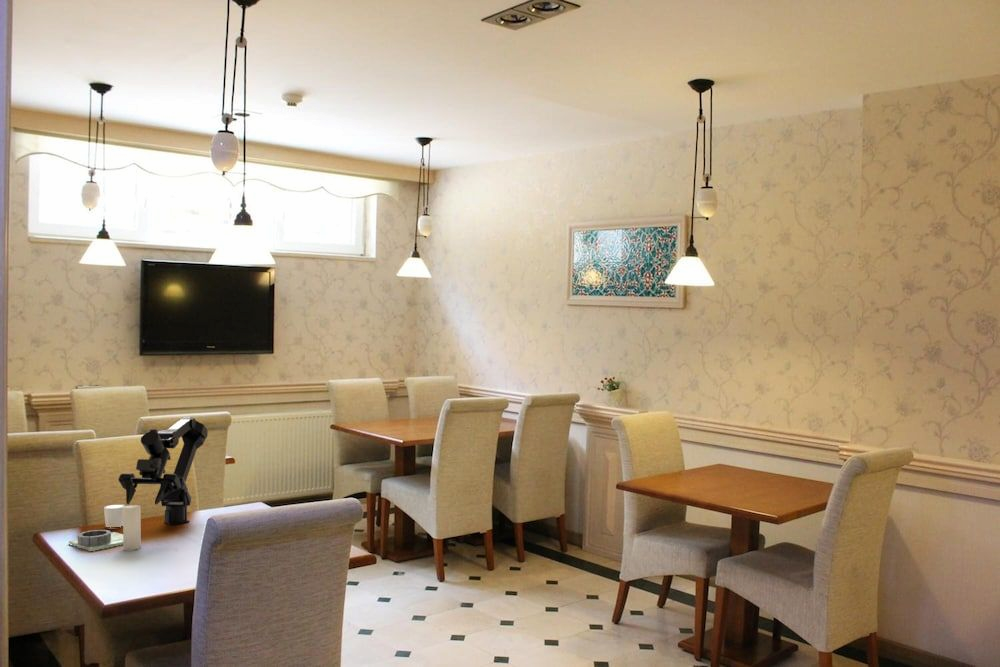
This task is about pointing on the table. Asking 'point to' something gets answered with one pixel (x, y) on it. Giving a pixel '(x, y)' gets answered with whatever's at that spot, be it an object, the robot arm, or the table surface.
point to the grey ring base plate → (98, 540)
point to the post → (131, 527)
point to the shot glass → (114, 515)
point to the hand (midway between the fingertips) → (141, 503)
